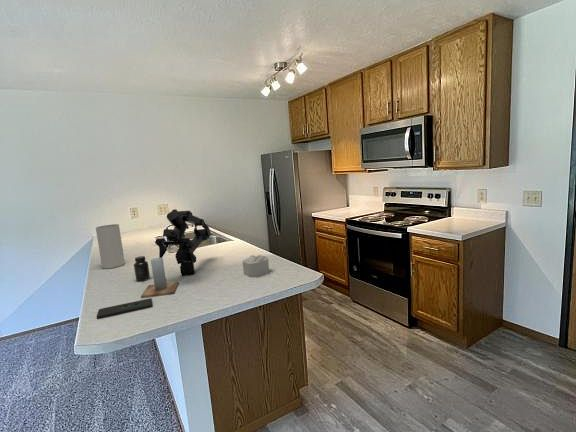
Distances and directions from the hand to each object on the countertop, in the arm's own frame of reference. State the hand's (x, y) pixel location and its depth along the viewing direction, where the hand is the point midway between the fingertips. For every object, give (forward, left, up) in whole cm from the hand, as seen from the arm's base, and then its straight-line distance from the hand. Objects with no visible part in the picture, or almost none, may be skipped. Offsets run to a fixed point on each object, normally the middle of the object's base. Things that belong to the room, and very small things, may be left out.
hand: (168, 258), depth 157 cm
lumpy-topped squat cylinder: (-42, -1, -13) cm, 45 cm away
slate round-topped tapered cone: (+3, +7, -12) cm, 14 cm away
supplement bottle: (+17, -14, -13) cm, 25 cm away
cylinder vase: (+43, -50, -13) cm, 67 cm away
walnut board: (+4, +7, -13) cm, 15 cm away
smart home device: (+14, +25, -14) cm, 32 cm away
